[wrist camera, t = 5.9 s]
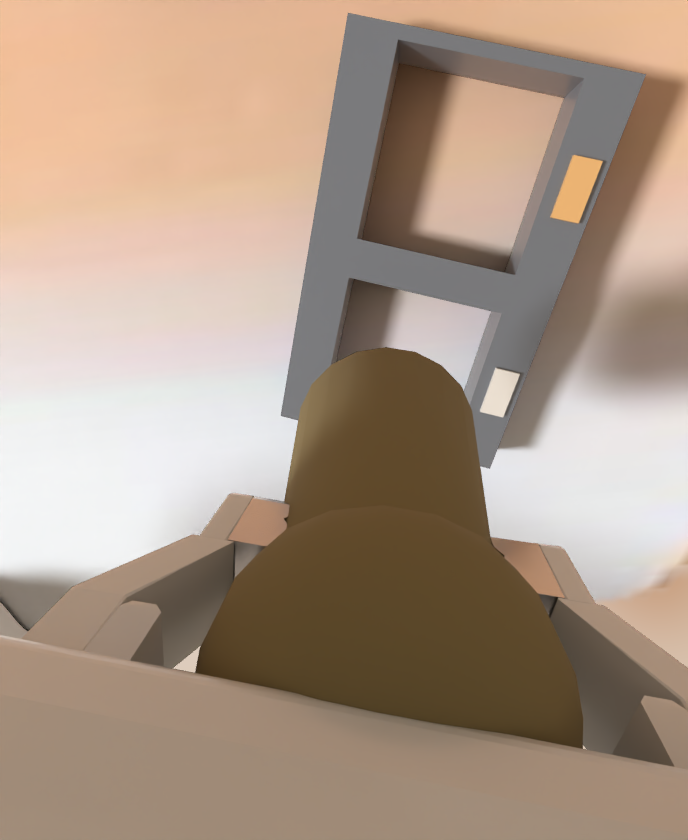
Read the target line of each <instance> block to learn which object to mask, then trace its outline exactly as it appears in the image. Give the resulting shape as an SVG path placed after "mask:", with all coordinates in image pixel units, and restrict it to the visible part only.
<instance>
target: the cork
mask: <svg viewBox="0 0 688 840" xmlns="http://www.w3.org/2000/svg"><path fill="white" fill-rule="evenodd" d="M284 502H288V503H289V505H290V506H289V513H288V518H287V520H286V523H287V527H286V530H285V531H284V532H282V533H281V534H280V535H279V536H278V537H277V538H276V539H274V540H273V541H272V542H271V543H270V544H269V545H267V546H266V547H265V548H264V549H263V550H262V551H261V552H259V553H258V554H257V555H256V556H255V557H254V558H253V559H252V560H251V561H250V562H249V563H248V564H247V566H246V567H245V568H244V569H243V570H242V571H241V572H240V573H239V574H238V575H237V576H236V577H235V579H234V581H233V583H232V585H231V587H230V589H229V591H228V593H227V595H226V597H225V599H224V601H223V603H222V605H221V607H220V609H219V611H218V613H217V615H216V617H215V619H214V621H213V623H212V625H211V627H210V629H209V631H208V633H207V635H206V637H205V639H204V641H203V643H202V645H201V647H200V650H199V656H198V661H197V666H196V672H195V673H198V674H203V675H208V676H213V677H218V678H223V679H228V680H234V681H239V682H244V683H249V684H254V685H259V686H264V687H269V688H274V689H279V690H284V691H288V692H293V693H297V694H301V695H304V696H308V697H311V698H315V699H319V700H323V701H327V702H332V703H337V704H341V705H346V706H350V707H355V708H359V709H364V710H368V711H373V712H377V713H382V714H388V715H393V716H399V717H404V718H410V719H415V720H420V721H426V722H431V723H437V724H444V725H450V726H457V727H463V728H470V729H477V730H483V731H490V732H497V733H504V734H510V735H515V736H520V737H525V738H530V739H535V740H541V741H546V742H551V743H556V744H561V745H566V746H571V747H576V748H581V749H583V714H582V708H581V702H580V695H579V689H578V683H577V677H576V673H575V671H574V669H573V667H572V665H571V663H570V660H569V658H568V656H567V654H566V652H565V650H564V648H563V645H562V643H561V641H560V639H559V637H558V635H557V633H556V631H555V628H554V626H553V624H552V622H551V620H550V618H549V616H548V614H547V611H546V609H545V607H544V605H543V603H542V601H541V599H540V597H539V594H538V593H537V592H536V591H535V590H534V589H533V587H532V586H531V585H530V584H529V583H528V582H527V581H526V579H525V578H524V577H523V576H522V575H521V574H520V573H519V571H518V570H517V569H516V568H515V567H514V566H513V565H512V564H511V563H510V562H508V561H507V560H506V559H505V558H504V557H503V556H502V555H501V554H500V553H499V552H498V551H497V550H496V549H495V548H494V547H493V546H492V545H491V539H490V532H489V525H488V518H487V511H486V504H485V497H484V490H483V483H482V476H481V469H480V462H479V455H478V448H477V441H476V434H475V427H474V420H473V413H472V409H471V407H470V405H469V402H468V400H467V398H466V396H465V394H464V391H463V389H462V387H461V385H460V384H459V383H458V382H457V381H456V380H455V379H454V378H453V377H452V376H451V375H450V374H449V373H448V372H447V371H446V370H445V369H444V368H443V367H442V366H441V365H440V364H438V363H436V362H434V361H432V360H430V359H428V358H426V357H424V356H422V355H420V354H418V353H416V352H412V351H406V350H399V349H393V348H387V347H385V348H378V349H372V350H365V351H359V352H355V353H353V354H351V355H349V356H347V357H345V358H343V359H341V360H340V361H338V362H336V363H334V364H332V365H330V366H329V367H328V368H327V369H326V370H325V371H324V372H323V373H322V374H321V375H320V376H319V377H318V378H317V379H316V380H315V381H314V383H313V384H312V385H311V387H310V389H309V391H308V393H307V395H306V397H305V399H304V402H303V404H302V406H301V408H300V414H299V420H298V425H297V431H296V437H295V443H294V449H293V454H292V460H291V466H290V472H289V477H288V483H287V489H286V495H285V501H284Z"/></svg>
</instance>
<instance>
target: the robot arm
mask: <svg viewBox="0 0 688 840" xmlns="http://www.w3.org/2000/svg"><path fill="white" fill-rule="evenodd" d="M289 506H290V505H289V503H288V502H282V501H277V500H272V499H266V498H261V497H254V496H250V495H244V494H238V493H231V494H229V495H228V496H227V498H226V499H225V500H224V502H223V503H222V505H221V506H220V507H219V509H218V510H217V512H216V513H215V514H214V516H213V517H212V519H211V520H210V521H209V523H208V524H207V526H206V527H205V528H204V530H203V531H202V533H201V534H200V536H199V535H190V536H188V537H186V538H183V539H181V540H179V541H176V542H174V543H172V544H170V545H167V546H165V547H163V548H160V549H158V550H156V551H153V552H151V553H149V554H146V555H144V556H142V557H140V558H137V559H135V560H133V561H130V562H128V563H126V564H123V565H121V566H119V567H117V568H114V569H112V570H110V571H107V572H105V573H103V574H100V575H98V576H96V577H94V578H91V579H89V580H87V581H84V582H82V583H80V584H77V585H75V586H73V587H72V588H71V589H70V590H69V591H68V592H67V593H66V594H65V595H64V596H63V597H62V598H61V599H60V600H59V601H58V602H57V603H56V604H55V605H54V606H53V607H52V608H51V609H50V610H49V611H48V612H47V613H46V614H45V615H44V616H43V617H42V618H41V619H40V620H39V621H38V622H37V623H36V624H35V625H34V626H33V627H32V628H31V629H30V630H29V631H27V630H25V629H24V628H23V627H22V626H21V625H20V624H19V623H18V622H17V621H16V620H15V619H14V618H13V616H12V615H11V614H10V613H9V611H8V610H7V609H6V608H5V607H4V606H3V605H2V604H1V603H0V840H688V668H687V667H686V666H684V665H683V664H682V663H680V662H679V661H678V660H676V659H675V658H674V657H672V656H671V655H670V654H668V653H667V652H666V651H664V650H663V649H662V648H660V647H659V646H658V645H656V644H655V643H654V642H652V641H651V640H650V639H648V638H647V637H646V636H644V635H643V634H641V633H640V632H639V631H638V630H636V629H635V628H633V627H632V626H631V625H629V624H628V623H627V622H625V621H624V620H623V619H621V618H620V617H619V616H617V615H616V614H615V613H613V612H612V611H611V610H609V609H608V608H607V607H605V606H603V605H597V604H596V603H595V601H594V600H593V598H592V596H591V595H590V593H589V591H588V589H587V588H586V586H585V584H584V582H583V581H582V579H581V577H580V575H579V574H578V572H577V570H576V568H575V567H574V565H573V563H572V561H571V560H570V558H569V556H568V555H567V553H566V551H565V550H564V549H563V548H561V547H560V546H553V545H545V544H538V543H528V542H521V541H514V540H508V539H501V538H494V537H490V539H491V545H492V546H493V547H494V548H495V549H496V550H497V551H498V552H499V553H500V554H501V555H502V556H503V557H504V558H505V559H506V560H507V561H508V562H510V563H511V564H512V565H513V566H514V567H515V568H516V569H517V570H518V571H519V573H520V574H521V575H522V576H523V577H524V578H525V579H526V581H527V582H528V583H529V584H530V585H531V586H532V587H533V589H534V590H535V591H536V592H537V593H538V594H539V597H540V599H541V601H542V603H543V605H544V607H545V609H546V611H547V614H548V616H549V618H550V620H551V622H552V624H553V626H554V628H555V631H556V633H557V635H558V637H559V639H560V641H561V643H562V645H563V648H564V650H565V652H566V654H567V656H568V658H569V660H570V663H571V665H572V667H573V669H574V671H575V673H576V677H577V683H578V689H579V695H580V702H581V708H582V714H583V745H584V746H585V748H586V749H587V750H586V749H581V748H576V747H571V746H566V745H561V744H556V743H551V742H546V741H541V740H535V739H530V738H525V737H520V736H515V735H510V734H504V733H497V732H490V731H483V730H477V729H470V728H463V727H457V726H450V725H444V724H437V723H431V722H426V721H420V720H415V719H410V718H404V717H399V716H393V715H388V714H382V713H377V712H373V711H368V710H364V709H359V708H355V707H350V706H346V705H341V704H337V703H332V702H327V701H323V700H319V699H315V698H311V697H308V696H304V695H301V694H297V693H293V692H288V691H284V690H279V689H274V688H269V687H264V686H259V685H254V684H249V683H244V682H239V681H234V680H228V679H223V678H218V677H213V676H208V675H203V674H198V673H193V672H187V671H182V670H177V669H172V668H174V667H175V666H176V665H177V664H178V663H180V662H181V661H182V660H183V659H184V658H186V657H187V656H188V655H190V654H191V653H192V652H193V651H194V650H196V649H197V648H198V647H199V646H201V645H202V643H203V641H204V639H205V637H206V635H207V633H208V631H209V629H210V627H211V625H212V623H213V621H214V619H215V617H216V615H217V613H218V611H219V609H220V607H221V605H222V603H223V601H224V599H225V597H226V595H227V593H228V591H229V589H230V587H231V585H232V583H233V581H234V579H235V577H236V576H237V575H238V574H239V573H240V572H241V571H242V570H243V569H244V568H245V567H246V566H247V564H248V563H249V562H250V561H251V560H252V559H253V558H254V557H255V556H256V555H257V554H258V553H259V552H261V551H262V550H263V549H264V548H265V547H266V546H267V545H269V544H270V543H271V542H272V541H273V540H274V539H276V538H277V537H278V536H279V535H280V534H281V533H282V532H284V531H285V530H286V527H287V523H286V520H287V518H288V513H289Z"/></svg>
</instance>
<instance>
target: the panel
mask: <svg viewBox="0 0 688 840" xmlns="http://www.w3.org/2000/svg"><path fill="white" fill-rule="evenodd" d="M399 63H401V64H406V65H410V66H415V67H420V68H425V69H429V70H434V71H439V72H444V73H448V74H453V75H458V76H463V77H467V78H472V79H477V80H482V81H486V82H491V83H496V84H500V85H505V86H510V87H515V88H519V89H524V90H529V91H534V92H538V93H543V94H548V95H553V96H557V97H562V98H564V100H563V103H562V105H561V108H560V111H559V114H558V117H557V120H556V123H555V126H554V129H553V132H552V135H551V138H550V141H549V144H548V146H547V149H546V152H545V155H544V158H543V161H542V164H541V167H540V170H539V173H538V176H537V179H536V182H535V185H534V188H533V190H532V193H531V196H530V199H529V202H528V205H527V208H526V211H525V214H524V217H523V220H522V223H521V226H520V229H519V231H518V234H517V237H516V240H515V243H514V246H513V249H512V252H511V255H510V258H509V261H508V264H507V267H506V270H505V273H504V272H500V271H495V270H491V269H487V268H482V267H478V266H474V265H469V264H465V263H461V262H456V261H452V260H448V259H443V258H439V257H435V256H430V255H426V254H422V253H417V252H413V251H409V250H404V249H400V248H396V247H391V246H387V245H383V244H378V243H374V242H370V241H365V240H362V236H363V232H364V227H365V222H366V217H367V213H368V208H369V203H370V198H371V194H372V189H373V184H374V179H375V175H376V170H377V165H378V160H379V156H380V151H381V146H382V141H383V137H384V132H385V127H386V122H387V118H388V113H389V108H390V103H391V99H392V94H393V89H394V84H395V80H396V75H397V70H398V65H399ZM645 76H646V74H641V73H637V72H632V71H627V70H622V69H617V68H612V67H607V66H603V65H598V64H593V63H588V62H583V61H578V60H574V59H569V58H564V57H559V56H554V55H549V54H545V53H540V52H535V51H530V50H525V49H520V48H516V47H511V46H506V45H501V44H496V43H491V42H487V41H482V40H477V39H472V38H467V37H462V36H457V35H453V34H448V33H443V32H438V31H433V30H428V29H424V28H419V27H414V26H409V25H404V24H399V23H395V22H390V21H385V20H380V19H375V18H370V17H366V16H361V15H356V14H351V13H348V16H347V22H346V28H345V34H344V40H343V46H342V52H341V58H340V64H339V70H338V76H337V82H336V88H335V94H334V100H333V106H332V112H331V118H330V124H329V130H328V136H327V142H326V148H325V154H324V160H323V166H322V172H321V178H320V184H319V190H318V196H317V202H316V208H315V214H314V220H313V226H312V232H311V238H310V244H309V250H308V256H307V262H306V268H305V274H304V280H303V286H302V292H301V298H300V304H299V310H298V316H297V322H296V328H295V334H294V340H293V346H292V352H291V358H290V364H289V370H288V376H287V382H286V388H285V394H284V400H283V406H282V412H281V416H283V417H287V418H291V419H295V420H299V414H300V408H301V406H302V404H303V402H304V399H305V397H306V395H307V393H308V391H309V389H310V387H311V385H312V384H313V383H314V381H315V380H316V379H317V378H318V377H319V376H320V375H321V374H322V373H323V372H324V371H325V370H326V369H327V368H328V367H329V366H330V365H332V364H334V363H336V360H337V355H338V350H339V346H340V341H341V336H342V331H343V327H344V322H345V317H346V312H347V308H348V303H349V298H350V293H351V289H352V284H353V279H357V280H361V281H366V282H370V283H374V284H378V285H383V286H387V287H391V288H395V289H400V290H404V291H408V292H412V293H417V294H421V295H425V296H429V297H434V298H438V299H442V300H446V301H451V302H455V303H459V304H463V305H468V306H472V307H476V308H480V309H485V310H489V311H491V314H490V316H489V319H488V322H487V325H486V328H485V331H484V334H483V337H482V340H481V343H480V346H479V349H478V352H477V355H476V358H475V360H474V363H473V366H472V369H471V372H470V375H469V378H468V381H467V384H466V387H465V390H464V394H465V396H466V398H467V400H468V402H469V405H470V407H471V409H472V413H473V420H474V427H475V434H476V441H477V448H478V455H479V462H480V466H482V467H486V468H490V467H491V464H492V462H493V459H494V457H495V454H496V452H497V449H498V447H499V444H500V442H501V439H502V436H503V434H504V431H505V429H506V426H507V424H508V421H509V419H510V416H511V414H512V411H513V409H514V406H515V404H516V401H517V399H518V396H519V394H520V391H521V389H522V386H523V383H524V381H525V378H526V376H527V373H528V371H529V368H530V366H531V363H532V361H533V358H534V356H535V353H536V351H537V348H538V346H539V343H540V341H541V338H542V336H543V333H544V330H545V328H546V325H547V323H548V320H549V318H550V315H551V313H552V310H553V308H554V305H555V303H556V300H557V298H558V295H559V293H560V290H561V288H562V285H563V283H564V280H565V277H566V275H567V272H568V270H569V267H570V265H571V262H572V260H573V257H574V255H575V252H576V250H577V247H578V245H579V242H580V240H581V237H582V235H583V232H584V230H585V227H586V224H587V222H588V219H589V217H590V214H591V212H592V209H593V207H594V204H595V202H596V199H597V197H598V194H599V192H600V189H601V187H602V184H603V182H604V179H605V177H606V174H607V171H608V169H609V166H610V164H611V161H612V159H613V156H614V154H615V151H616V149H617V146H618V144H619V141H620V139H621V136H622V134H623V131H624V129H625V126H626V124H627V121H628V118H629V116H630V113H631V111H632V108H633V106H634V103H635V101H636V98H637V96H638V93H639V91H640V88H641V86H642V83H643V81H644V78H645Z"/></svg>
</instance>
